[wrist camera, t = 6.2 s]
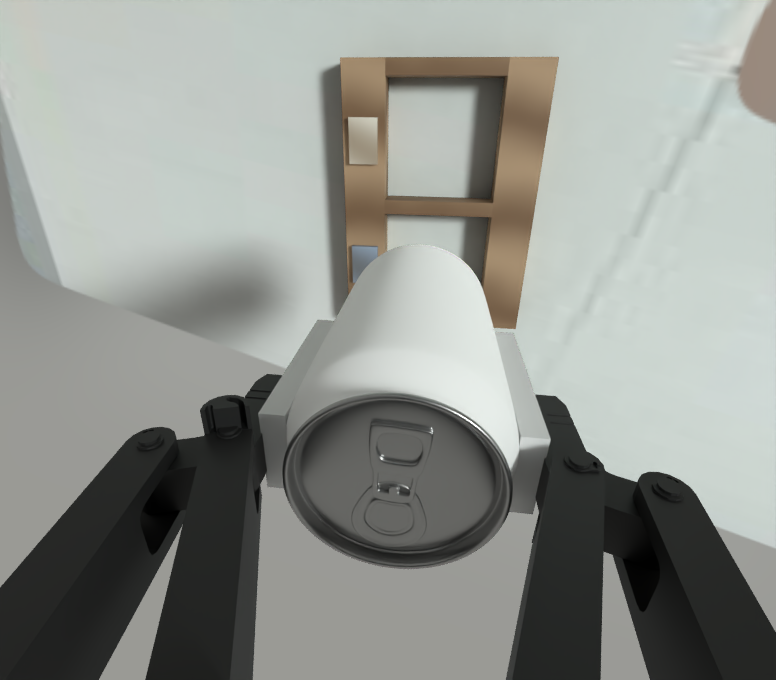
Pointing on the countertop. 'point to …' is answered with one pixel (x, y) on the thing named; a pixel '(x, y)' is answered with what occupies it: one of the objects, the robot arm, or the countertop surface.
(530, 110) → the socket board
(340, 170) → the countertop surface
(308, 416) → the can
